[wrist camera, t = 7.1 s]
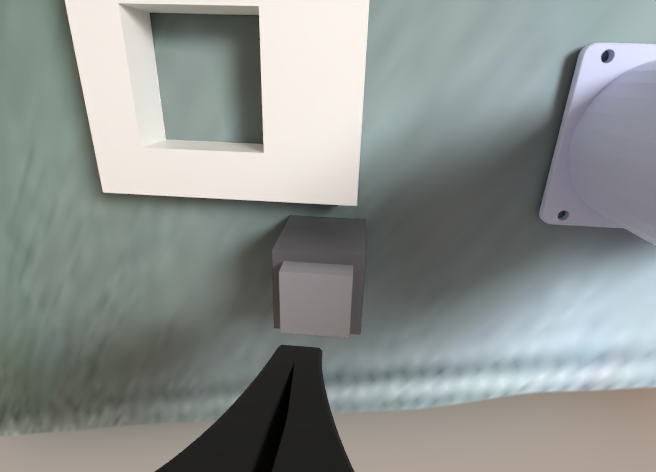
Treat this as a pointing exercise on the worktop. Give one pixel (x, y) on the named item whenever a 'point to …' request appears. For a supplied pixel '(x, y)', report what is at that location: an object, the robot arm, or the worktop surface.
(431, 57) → the worktop surface
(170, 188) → the socket plate
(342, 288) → the plug
